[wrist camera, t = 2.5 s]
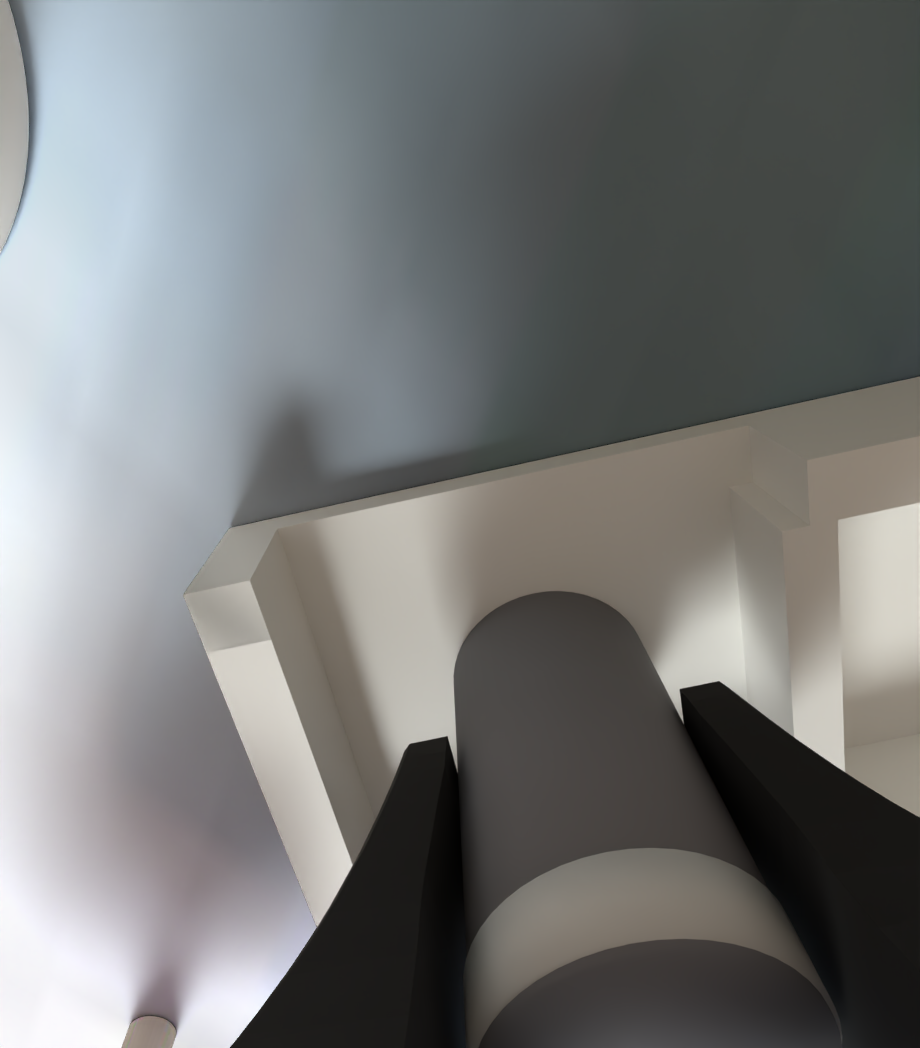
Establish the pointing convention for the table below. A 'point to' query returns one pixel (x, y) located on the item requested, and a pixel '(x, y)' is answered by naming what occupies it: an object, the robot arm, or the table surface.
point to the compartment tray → (591, 569)
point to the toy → (150, 1033)
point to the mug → (11, 122)
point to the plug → (607, 855)
